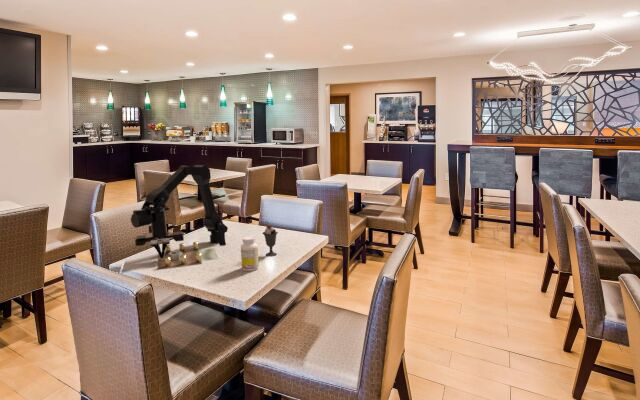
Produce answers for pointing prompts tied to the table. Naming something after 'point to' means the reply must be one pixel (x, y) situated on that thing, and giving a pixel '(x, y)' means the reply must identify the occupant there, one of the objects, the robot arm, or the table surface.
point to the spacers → (182, 257)
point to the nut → (175, 255)
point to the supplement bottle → (249, 254)
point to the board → (188, 258)
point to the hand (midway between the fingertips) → (162, 257)
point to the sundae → (270, 239)
